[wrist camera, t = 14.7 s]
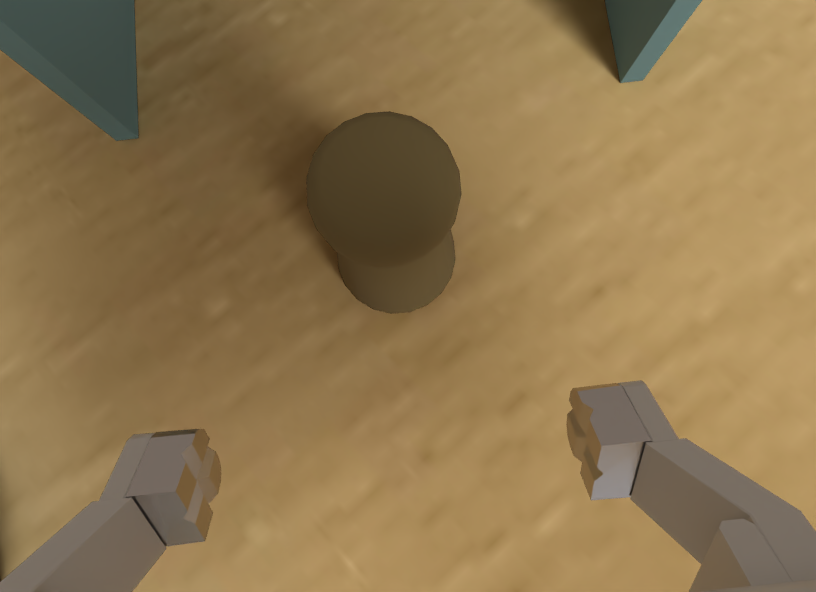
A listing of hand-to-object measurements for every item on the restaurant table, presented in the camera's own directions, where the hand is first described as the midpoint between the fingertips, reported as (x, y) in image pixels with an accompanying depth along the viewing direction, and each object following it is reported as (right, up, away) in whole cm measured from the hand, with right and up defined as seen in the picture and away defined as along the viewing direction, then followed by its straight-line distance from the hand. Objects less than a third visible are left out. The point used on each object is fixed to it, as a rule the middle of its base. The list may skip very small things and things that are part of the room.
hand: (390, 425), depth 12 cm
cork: (0, +5, +15) cm, 16 cm away
